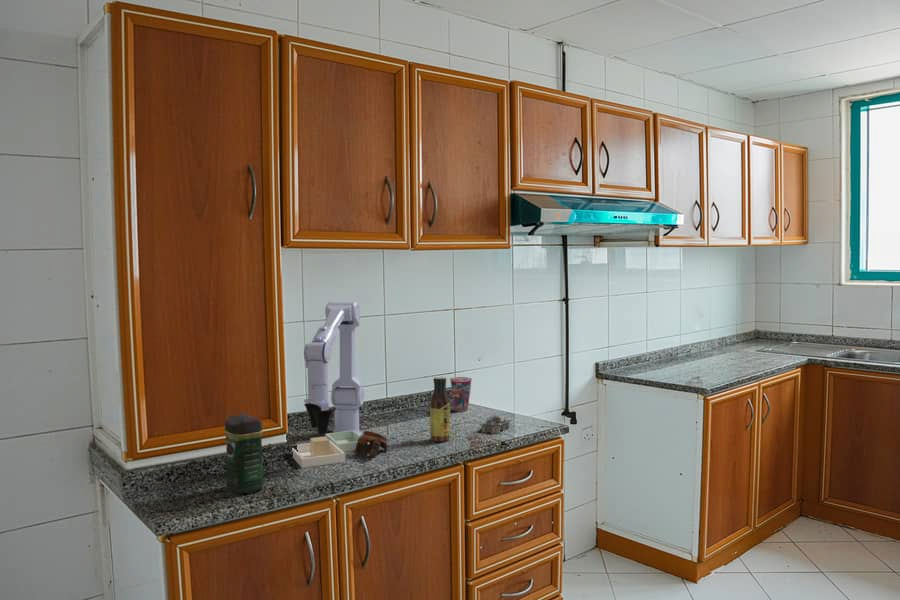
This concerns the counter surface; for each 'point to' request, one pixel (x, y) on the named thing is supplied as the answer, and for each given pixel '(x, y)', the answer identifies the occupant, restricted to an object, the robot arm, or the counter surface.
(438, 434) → the sauce bottle
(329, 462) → the cream bin
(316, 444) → the sandstone block
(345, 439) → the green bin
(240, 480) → the coffee jar
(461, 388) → the cup
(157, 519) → the counter surface
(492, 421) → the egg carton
